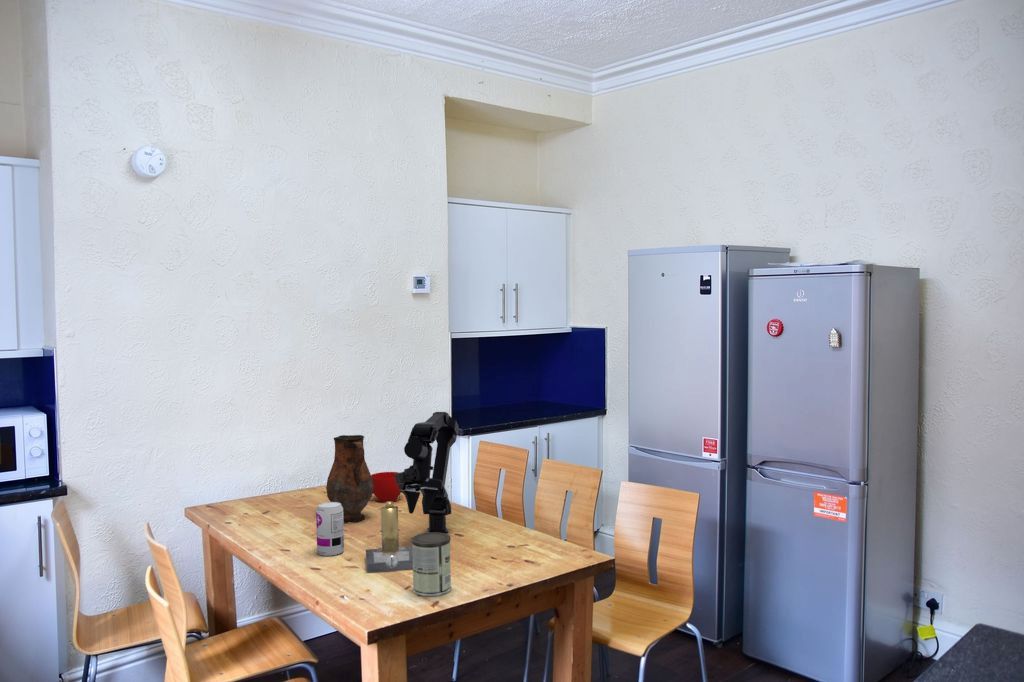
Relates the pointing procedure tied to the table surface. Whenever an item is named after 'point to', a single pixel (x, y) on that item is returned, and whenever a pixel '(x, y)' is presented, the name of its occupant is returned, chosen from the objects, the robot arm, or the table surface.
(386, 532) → the brass weight
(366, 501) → the pitcher
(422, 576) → the coffee can
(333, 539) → the supplement can
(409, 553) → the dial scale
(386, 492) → the ceramic cup
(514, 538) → the table surface
